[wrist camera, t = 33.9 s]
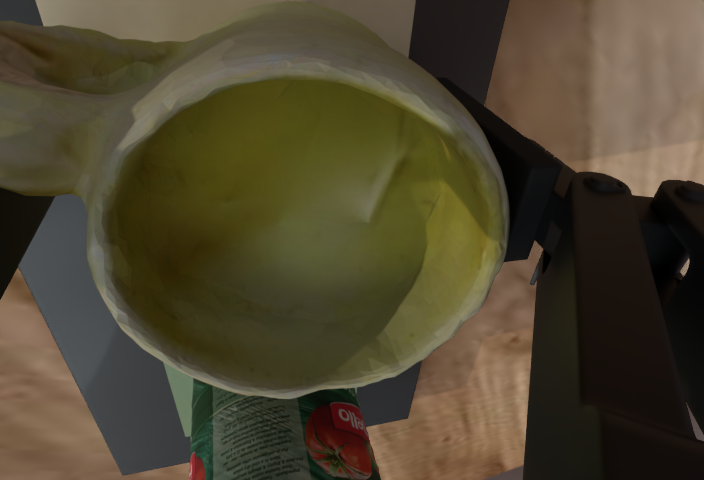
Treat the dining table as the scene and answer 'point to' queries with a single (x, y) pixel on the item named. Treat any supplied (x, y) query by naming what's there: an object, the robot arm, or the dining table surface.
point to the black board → (71, 215)
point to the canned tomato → (279, 436)
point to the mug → (262, 192)
